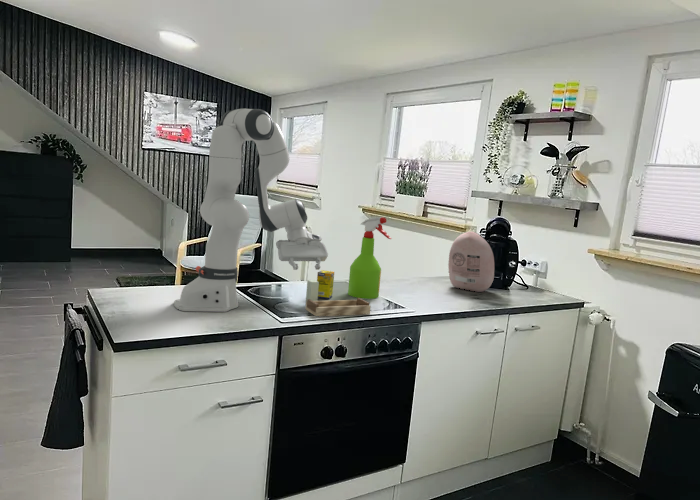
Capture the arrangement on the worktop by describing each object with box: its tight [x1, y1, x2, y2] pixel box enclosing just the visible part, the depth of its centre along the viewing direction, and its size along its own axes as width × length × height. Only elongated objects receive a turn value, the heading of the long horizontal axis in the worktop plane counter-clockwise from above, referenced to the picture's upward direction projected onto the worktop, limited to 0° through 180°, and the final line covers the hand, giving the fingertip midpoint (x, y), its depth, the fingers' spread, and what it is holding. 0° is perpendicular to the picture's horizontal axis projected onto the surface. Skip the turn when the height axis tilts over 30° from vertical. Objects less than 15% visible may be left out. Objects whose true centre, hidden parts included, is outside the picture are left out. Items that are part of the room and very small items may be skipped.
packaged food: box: [447, 231, 496, 293], centre depth 261 cm, size 22×20×30 cm
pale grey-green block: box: [305, 279, 319, 307], centre depth 199 cm, size 3×4×10 cm
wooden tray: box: [305, 298, 371, 317], centre depth 194 cm, size 22×10×4 cm, turn 118°
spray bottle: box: [347, 216, 393, 300], centre depth 225 cm, size 14×18×35 cm
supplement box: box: [316, 269, 335, 300], centre depth 216 cm, size 6×6×11 cm
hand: (307, 268), depth 203 cm, fingers open, 8 cm apart
